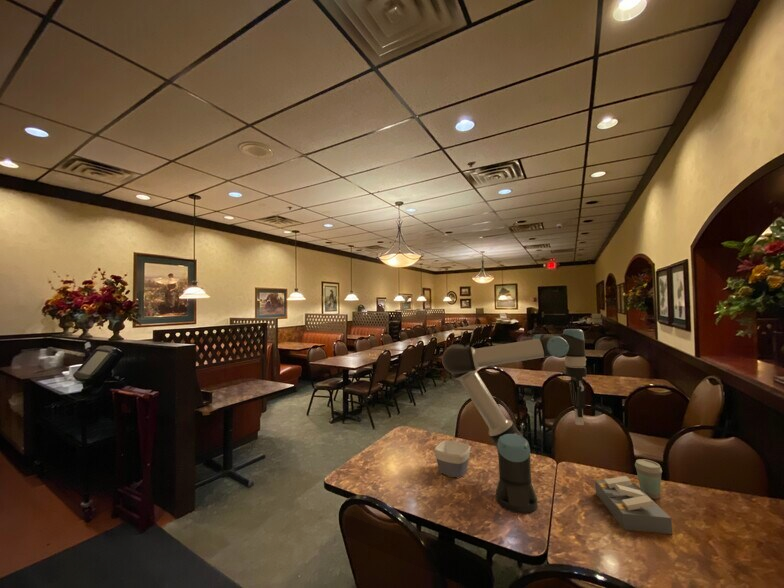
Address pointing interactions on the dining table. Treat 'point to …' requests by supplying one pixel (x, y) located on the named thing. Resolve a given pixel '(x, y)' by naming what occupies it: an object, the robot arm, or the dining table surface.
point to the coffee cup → (649, 477)
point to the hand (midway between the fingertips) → (579, 424)
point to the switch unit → (633, 511)
